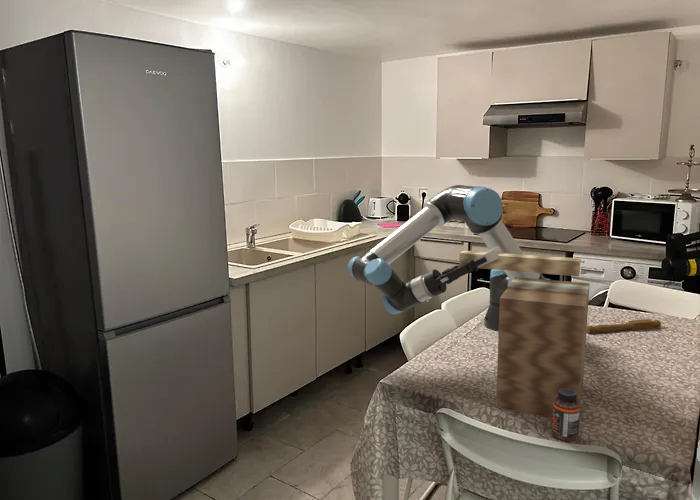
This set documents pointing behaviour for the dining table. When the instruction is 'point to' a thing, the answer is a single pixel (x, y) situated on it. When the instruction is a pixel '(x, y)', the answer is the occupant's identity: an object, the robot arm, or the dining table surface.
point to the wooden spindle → (625, 326)
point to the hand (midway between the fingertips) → (498, 252)
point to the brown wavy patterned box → (540, 343)
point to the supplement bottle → (566, 415)
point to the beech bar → (526, 263)
